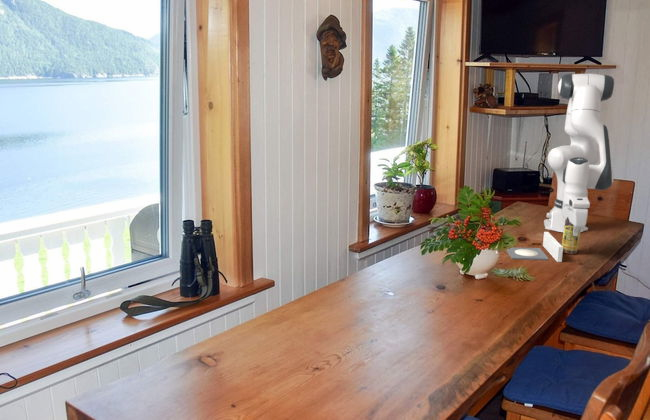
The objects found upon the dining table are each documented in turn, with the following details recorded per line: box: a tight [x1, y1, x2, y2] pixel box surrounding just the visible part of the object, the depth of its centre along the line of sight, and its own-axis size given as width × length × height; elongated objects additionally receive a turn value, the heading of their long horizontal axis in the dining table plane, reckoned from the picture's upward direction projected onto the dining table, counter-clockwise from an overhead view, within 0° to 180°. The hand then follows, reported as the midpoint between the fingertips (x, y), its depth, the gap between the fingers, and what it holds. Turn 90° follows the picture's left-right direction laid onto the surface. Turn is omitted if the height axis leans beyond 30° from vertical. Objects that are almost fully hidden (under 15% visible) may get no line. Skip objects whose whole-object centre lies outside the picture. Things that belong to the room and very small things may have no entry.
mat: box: [505, 246, 550, 261], centre depth 247 cm, size 14×14×1 cm
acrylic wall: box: [542, 231, 563, 263], centre depth 248 cm, size 22×2×6 cm, turn 175°
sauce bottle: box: [561, 217, 581, 255], centre depth 247 cm, size 6×6×20 cm
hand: (571, 232), depth 247 cm, fingers open, 7 cm apart
